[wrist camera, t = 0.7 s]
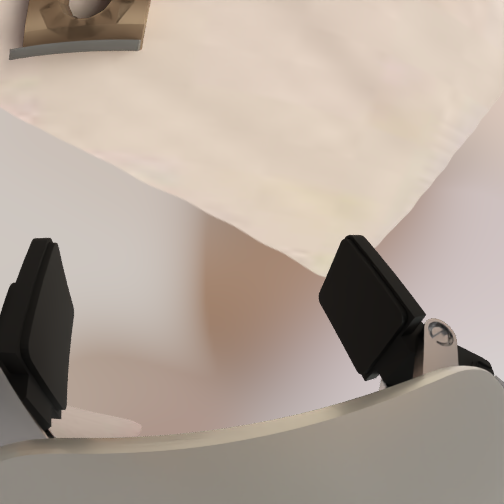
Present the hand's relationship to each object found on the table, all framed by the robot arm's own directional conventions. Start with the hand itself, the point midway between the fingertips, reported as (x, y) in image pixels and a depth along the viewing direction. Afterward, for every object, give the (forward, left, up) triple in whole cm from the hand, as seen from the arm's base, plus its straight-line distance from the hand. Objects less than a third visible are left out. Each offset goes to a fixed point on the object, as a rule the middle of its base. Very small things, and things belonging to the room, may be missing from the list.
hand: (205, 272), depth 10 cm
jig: (-12, -10, -27) cm, 31 cm away
